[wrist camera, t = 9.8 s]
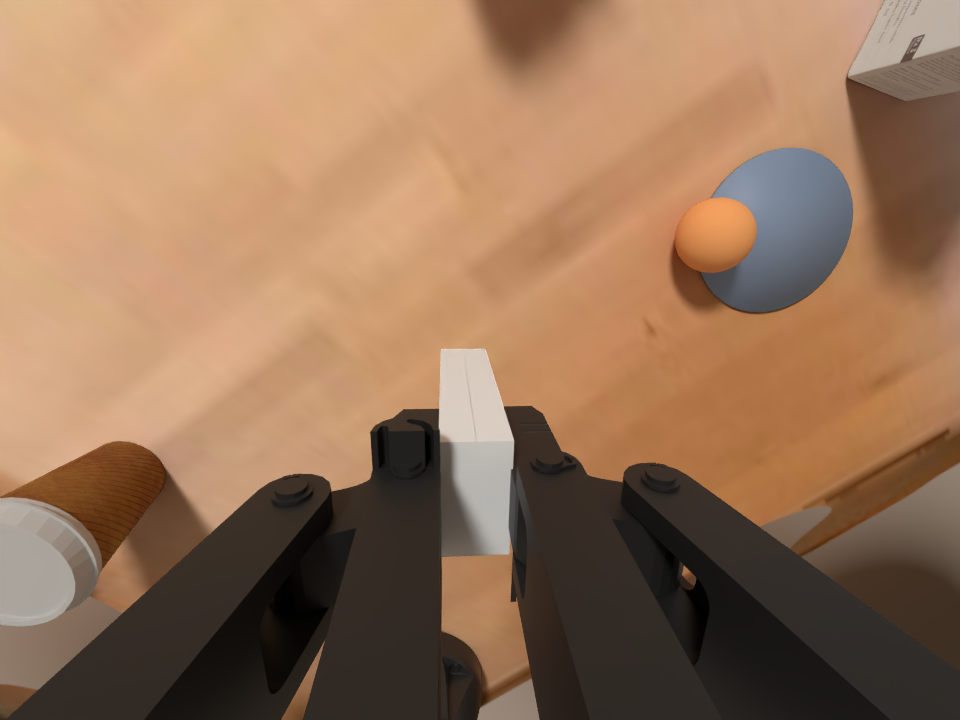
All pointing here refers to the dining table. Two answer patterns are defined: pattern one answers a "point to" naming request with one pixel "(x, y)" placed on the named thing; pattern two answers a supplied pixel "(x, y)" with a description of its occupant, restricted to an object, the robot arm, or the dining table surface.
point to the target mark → (785, 228)
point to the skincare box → (912, 50)
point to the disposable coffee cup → (70, 529)
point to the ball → (715, 235)
